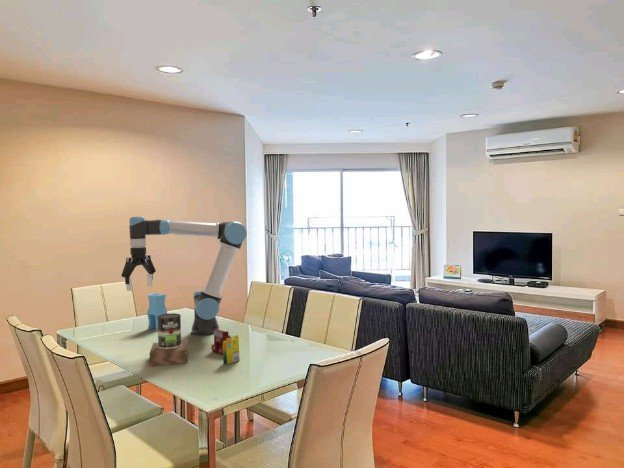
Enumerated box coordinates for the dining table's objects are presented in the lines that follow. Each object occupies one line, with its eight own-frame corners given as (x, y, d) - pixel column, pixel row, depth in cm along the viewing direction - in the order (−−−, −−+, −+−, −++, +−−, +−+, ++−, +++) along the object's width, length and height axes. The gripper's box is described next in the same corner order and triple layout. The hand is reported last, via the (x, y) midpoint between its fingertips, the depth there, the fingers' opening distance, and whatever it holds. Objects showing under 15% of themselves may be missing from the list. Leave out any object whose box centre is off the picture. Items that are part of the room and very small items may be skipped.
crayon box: (235, 359, 211) (234, 333, 210) (239, 360, 209) (239, 334, 208) (222, 363, 205) (222, 337, 204) (227, 364, 203) (226, 338, 202)
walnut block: (188, 352, 222) (188, 340, 222) (187, 363, 206) (187, 349, 206) (153, 355, 218) (153, 342, 218) (149, 366, 203) (149, 352, 202)
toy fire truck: (225, 356, 215) (225, 334, 215) (209, 351, 223) (208, 330, 222) (237, 352, 220) (236, 331, 220) (220, 348, 228) (219, 327, 228)
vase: (167, 327, 270) (166, 293, 269) (156, 330, 264) (155, 296, 263) (158, 326, 275) (157, 292, 274) (147, 329, 268) (146, 295, 267)
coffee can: (183, 347, 210) (182, 316, 209) (159, 350, 206) (158, 319, 205) (180, 341, 219) (179, 312, 218) (157, 344, 215) (156, 314, 214)
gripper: (151, 245, 248) (152, 284, 249) (112, 248, 226) (114, 292, 227) (161, 245, 245) (163, 285, 246) (123, 249, 223) (125, 293, 224)
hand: (139, 288), depth 236 cm, fingers open, 13 cm apart
